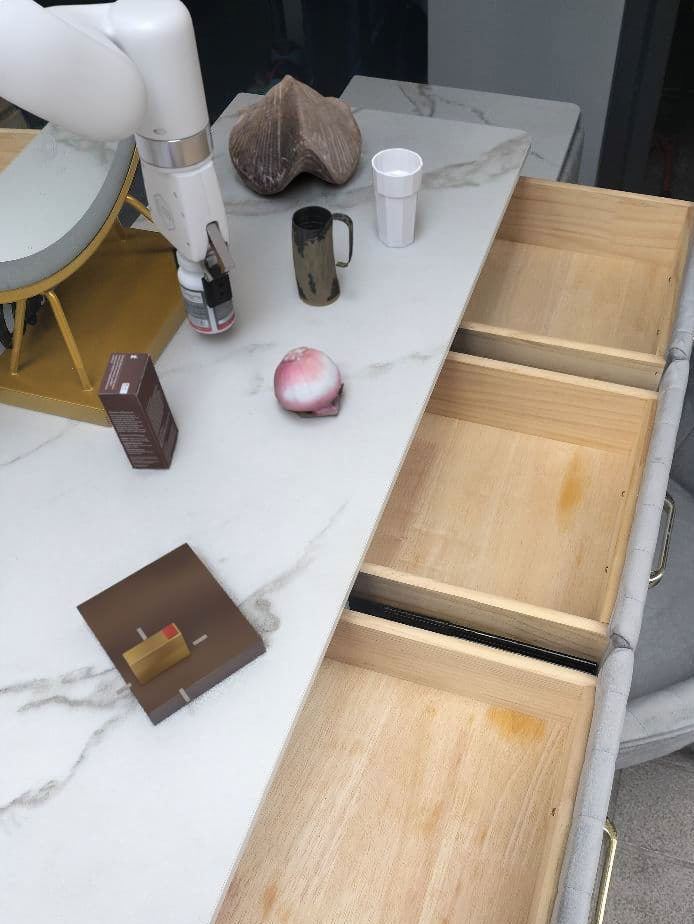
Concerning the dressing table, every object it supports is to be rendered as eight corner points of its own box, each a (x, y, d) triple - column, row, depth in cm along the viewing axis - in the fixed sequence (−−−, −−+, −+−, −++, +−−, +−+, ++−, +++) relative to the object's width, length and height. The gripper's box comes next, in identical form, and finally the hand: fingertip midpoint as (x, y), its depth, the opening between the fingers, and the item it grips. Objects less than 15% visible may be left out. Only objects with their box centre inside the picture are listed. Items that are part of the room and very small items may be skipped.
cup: (413, 219, 117) (414, 145, 108) (426, 246, 113) (428, 172, 104) (368, 226, 116) (366, 152, 107) (380, 254, 112) (378, 180, 103)
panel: (73, 625, 79) (64, 612, 77) (191, 555, 84) (185, 540, 82) (149, 742, 72) (141, 731, 70) (272, 659, 77) (269, 646, 75)
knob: (141, 685, 73) (129, 664, 69) (134, 674, 73) (121, 652, 70) (191, 654, 75) (180, 632, 71) (183, 643, 75) (172, 621, 72)
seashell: (213, 99, 119) (269, 41, 108) (305, 126, 130) (364, 76, 119) (230, 205, 119) (287, 157, 108) (321, 223, 130) (382, 181, 119)
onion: (317, 370, 99) (312, 324, 93) (358, 405, 96) (355, 359, 90) (264, 401, 96) (255, 355, 90) (304, 438, 93) (297, 393, 87)
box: (140, 430, 94) (109, 350, 84) (179, 431, 93) (153, 351, 84) (128, 470, 90) (95, 392, 80) (168, 472, 90) (140, 394, 80)
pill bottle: (229, 301, 103) (217, 231, 95) (240, 330, 100) (228, 260, 92) (184, 311, 101) (167, 241, 93) (194, 340, 98) (177, 270, 90)
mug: (290, 301, 107) (280, 219, 97) (306, 275, 110) (297, 193, 100) (348, 313, 105) (343, 232, 95) (361, 287, 108) (358, 205, 98)
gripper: (100, 115, 84) (142, 264, 99) (184, 191, 77) (216, 340, 92) (165, 94, 87) (196, 242, 102) (252, 165, 80) (272, 314, 94)
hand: (205, 287), depth 97 cm, fingers closed on pill bottle, 5 cm apart
